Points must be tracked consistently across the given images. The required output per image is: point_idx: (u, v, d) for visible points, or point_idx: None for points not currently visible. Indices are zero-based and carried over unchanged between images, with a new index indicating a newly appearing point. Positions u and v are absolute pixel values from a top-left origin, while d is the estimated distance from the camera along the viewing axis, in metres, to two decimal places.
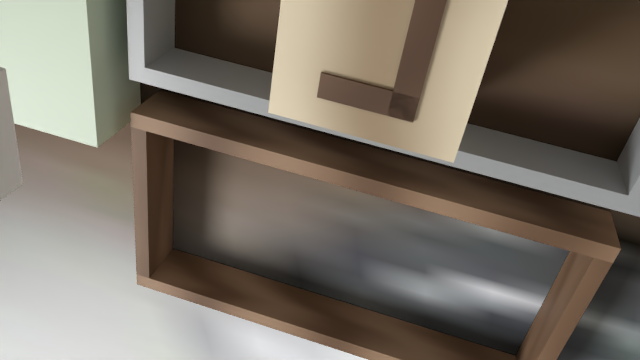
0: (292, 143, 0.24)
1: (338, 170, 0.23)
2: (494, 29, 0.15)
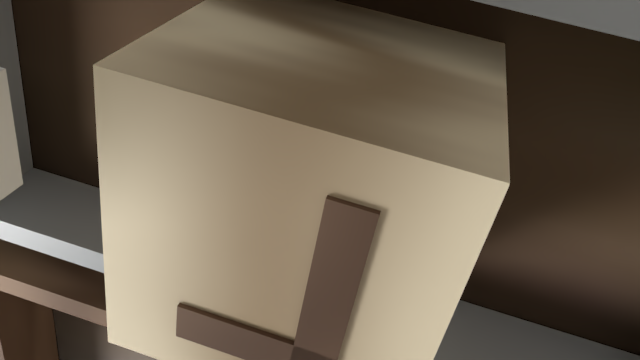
0: None
1: None
2: (459, 282, 0.08)
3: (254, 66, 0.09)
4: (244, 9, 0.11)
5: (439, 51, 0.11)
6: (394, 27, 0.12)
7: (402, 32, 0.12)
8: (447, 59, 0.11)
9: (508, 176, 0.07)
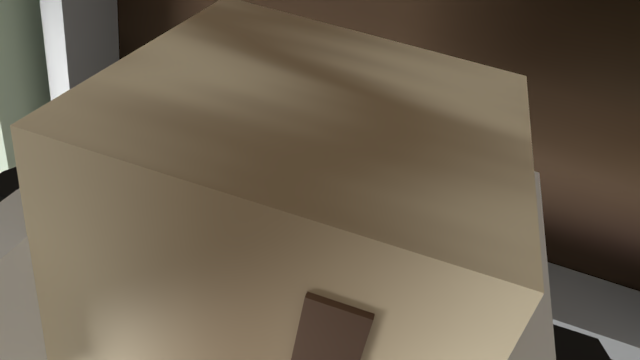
0: None
1: None
2: None
3: (220, 120, 0.07)
4: (218, 39, 0.09)
5: (450, 90, 0.09)
6: (397, 59, 0.10)
7: (406, 66, 0.10)
8: (459, 102, 0.09)
9: (541, 281, 0.06)
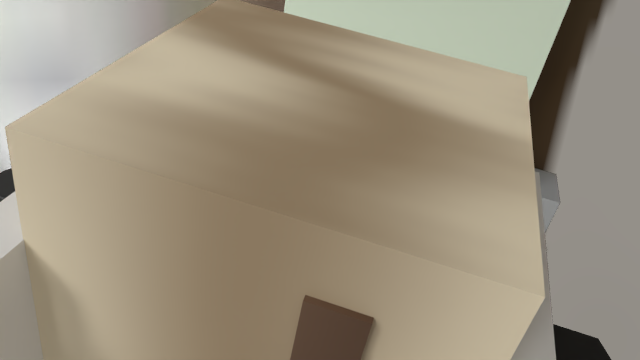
0: None
1: None
2: None
3: (218, 121, 0.07)
4: (217, 40, 0.09)
5: (449, 90, 0.09)
6: (396, 60, 0.10)
7: (406, 66, 0.10)
8: (459, 103, 0.09)
9: (542, 285, 0.06)
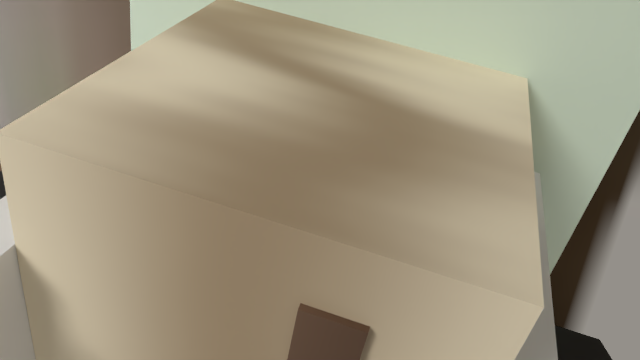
0: None
1: None
2: None
3: (212, 126, 0.07)
4: (213, 42, 0.09)
5: (449, 93, 0.09)
6: (395, 61, 0.10)
7: (405, 68, 0.10)
8: (458, 106, 0.09)
9: (541, 295, 0.06)
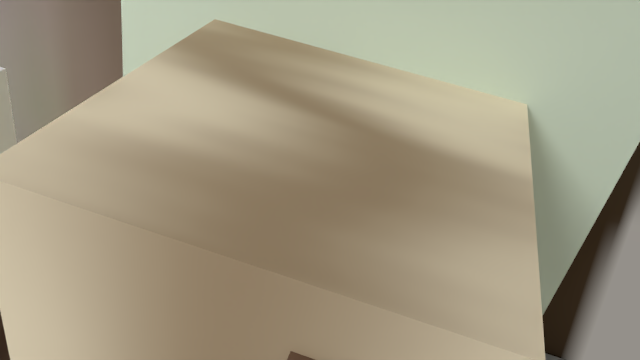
0: None
1: None
2: None
3: (201, 161, 0.07)
4: (204, 68, 0.09)
5: (446, 122, 0.09)
6: (391, 87, 0.10)
7: (401, 94, 0.09)
8: (456, 136, 0.09)
9: (543, 348, 0.05)
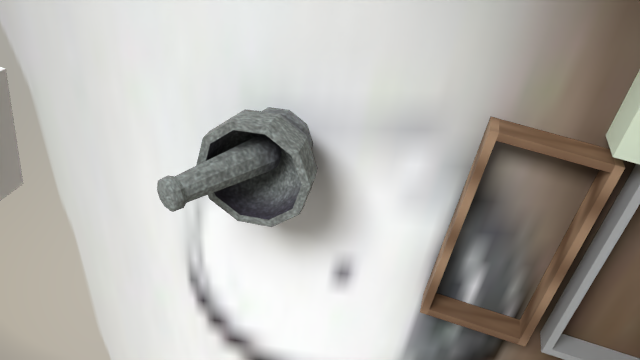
0: None
1: (573, 259, 0.47)
2: None
3: None
4: None
5: None
6: None
7: None
8: None
9: None
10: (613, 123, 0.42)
